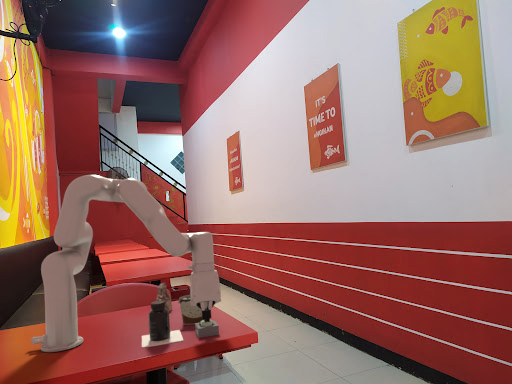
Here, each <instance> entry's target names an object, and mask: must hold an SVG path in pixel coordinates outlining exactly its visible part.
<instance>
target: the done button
mask: <svg viewBox="0 0 512 384" xmlns="http://www.w3.org/2000/svg"><path fill="white" fill-rule="evenodd" d="M212 321H213V320H212V319H210V322H208V321H207V322H205V321H204V320H202V321H201V327H206V326H212Z"/></svg>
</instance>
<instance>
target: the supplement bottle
mask: <svg viewBox="0 0 512 384" xmlns="http://www.w3.org/2000/svg"><path fill="white" fill-rule="evenodd" d="M165 307H166V305H165V301H156V300H155V301H152V302H150V311H149V312H148V315H147V316H148V317H147V318H148V332H149V334H148V335H150V340H152V341H162V340H165V339H168V338H169V337H170V331H171V325H170V324H171V322H170V311H168V310H167V309H166V308H165Z"/></svg>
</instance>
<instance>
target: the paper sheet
mask: <svg viewBox="0 0 512 384" xmlns="http://www.w3.org/2000/svg"><path fill="white" fill-rule="evenodd" d="M180 342H184V338H183V335H182V333H181V330H180V329H176V330H170V337H169V338H168V339H165V340H162V341H152V340H150V335H149V334H144V335H141V349H143V348H149V347H157V346H162V345H169V344H174V343H175V344H176V343H180Z"/></svg>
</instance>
